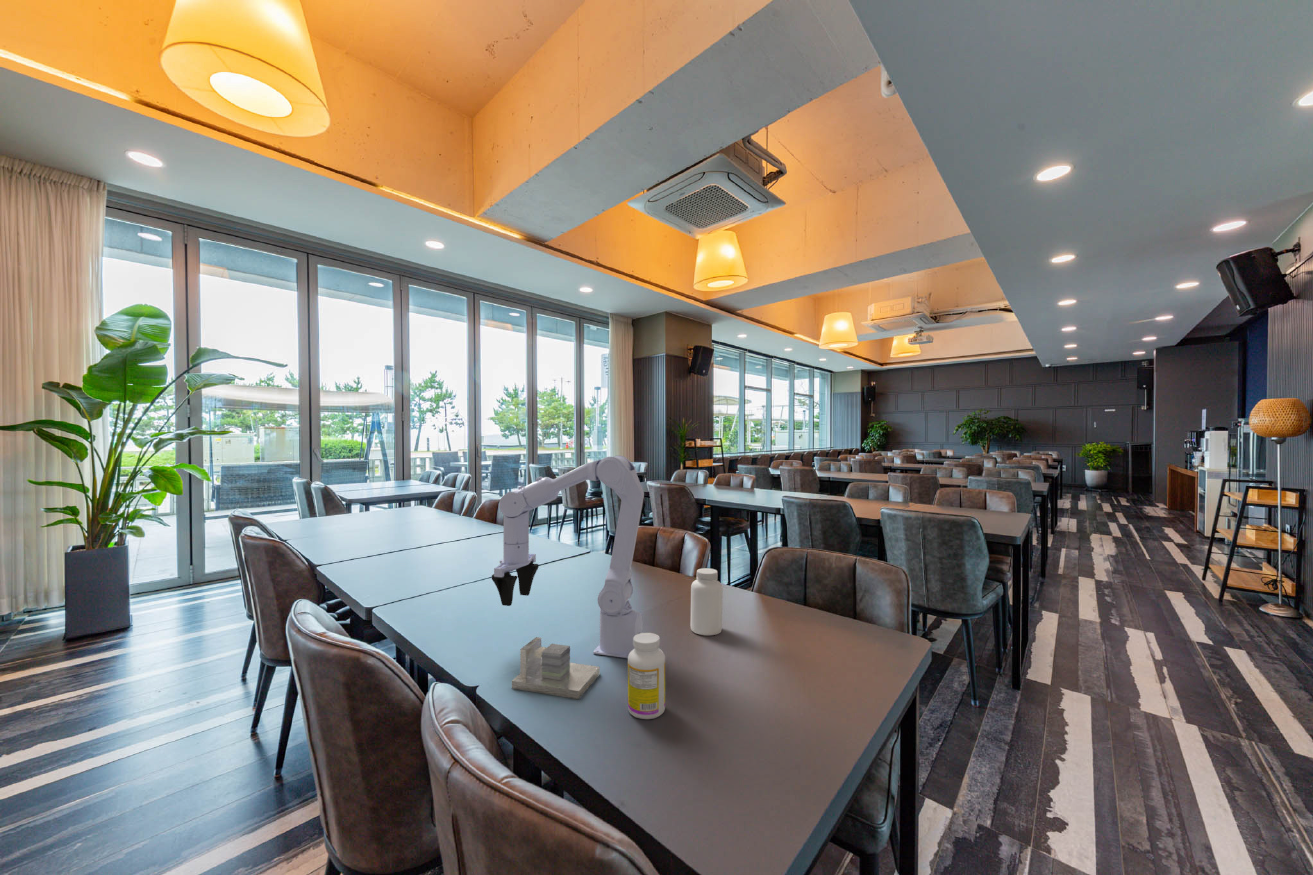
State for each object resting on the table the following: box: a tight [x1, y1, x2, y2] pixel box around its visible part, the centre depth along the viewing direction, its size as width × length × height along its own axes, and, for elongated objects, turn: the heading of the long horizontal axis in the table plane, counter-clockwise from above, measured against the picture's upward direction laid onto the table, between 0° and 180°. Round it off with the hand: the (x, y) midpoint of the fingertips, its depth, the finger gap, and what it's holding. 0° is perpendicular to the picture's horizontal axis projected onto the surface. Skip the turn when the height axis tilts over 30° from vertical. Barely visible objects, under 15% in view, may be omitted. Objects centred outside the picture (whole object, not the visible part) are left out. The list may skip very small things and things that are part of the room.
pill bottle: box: [689, 567, 724, 636], centre depth 122 cm, size 8×8×15 cm
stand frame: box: [511, 636, 601, 700], centre depth 96 cm, size 14×10×7 cm
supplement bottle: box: [627, 632, 666, 720], centre depth 85 cm, size 7×7×13 cm
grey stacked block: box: [541, 643, 571, 681], centre depth 95 cm, size 4×4×5 cm
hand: (516, 599), depth 114 cm, fingers open, 7 cm apart
